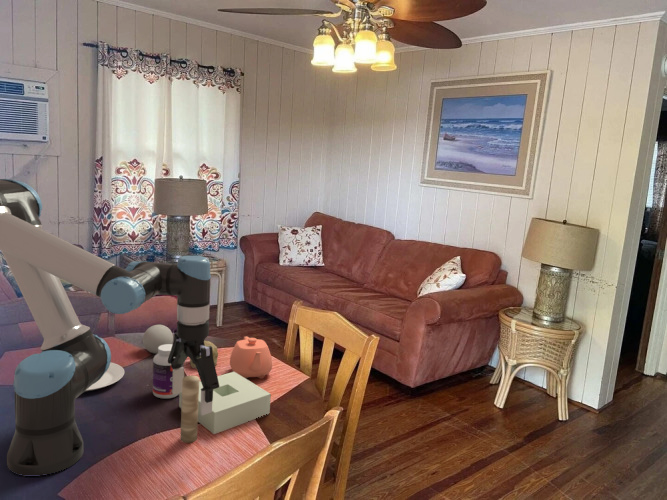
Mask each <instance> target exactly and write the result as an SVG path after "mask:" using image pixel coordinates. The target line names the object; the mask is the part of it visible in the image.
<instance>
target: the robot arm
mask: <svg viewBox="0 0 667 500" xmlns="http://www.w3.org/2000/svg"><path fill="white" fill-rule="evenodd" d="M42 211H43V203H42V200H41V197H40V196H39V193H37V191H36V190H35V189H34V188H33V187H32V186H30V185H29V184H27V183H25V182H23V181H21V180H18V179H17V180H16V179H9V178H0V251H1V253H2V255H3V257H4V259H5V261H6V263H7V266H8V268H9V270H10V272H11V274H12V276H13V278H14V280H15V281H16V284H17V287H18V288H19V290H20V292H21V294H22V297H23V298H24V301H25V303H26V304H27V307H28V309H29V311H30V314H31V315H32V318H33V319H34V322H35V323H36V325H37V328H38V330H39V331H40V334H41V336H42V339H43V342H42V344H41V347H40V351H41V352H40V353H33V354H31V355H29V356H27V357H25V358H24V359H22V360H21V361H20V362H19V363H18V364H17V366H16V367H15V370H14V378H13V383H12V384H13V385H12V386H13V391H14V392H13V393H14V417H15V418H14V419H15V421H14V422H15V431H14V435H13V436H12V440H11V442H10V445H9V448H8V450H7V454H6V466H8V467H7V469H8V468H9V469H10V470H11V471H13V472H15V473H17V474H22V475H43V474H50V473H54V472H57V473H59V472H58V471H60V472H62V471H64V469H65V470H67V469H68V468H70V467H72V466H74V465H75V464H76V463H77V462H79V460H81V458H82V457H83V455H84V440H83V437H82V434H81V432H80V430H79V427H78V425H77V422H76V418H75V417H76V403H75V402H76V399H77V398H79V396H81V395H83V393H85V392H86V391H85V390H87V389H88V388H89V387H90V386H91V385H92V384H94V383H96V382H97V381H98V380H100V379H101V377H102V376H103V375H104V374H105V372H106V371H107V370H108V368H109V365H110V362H112V361H111V360H112V352H111V348H110V346H109V344H108V343H107V342H106V340H105V339H103V337H99V336H98V334H93V331H92V330H91V328H90V326H87V325H85V324H82V323H81V322H80V319H79V318H78V315H77V314H76V312H75V311H76V310H74V307H73V304H72V303H71V300H70V299H69V296H68V294H67V291H66V289H65V288H64V285H63V284H62V281H61V280H63V281H65V282H67V283H69V284H71V285H73V286H76V287H78V288H80V289H82V290H84V291H85V292H88V293H90V294H92V295H95V296H96V297H98V298H100V300H101V301H100V302H101V303H102V305H103V306H104V307H105V308H106V310H107V311H109V312H110V313H113V314H116V315H124V314H128V313H130V312H131V311H135V310H137V309H138V308H140V307H141V306H142V305H143V304H144V303H146V302H147V301H149V300H151V299H152V298H153V297H155V296H156V295H161V296H162V295H163V296H176V299H177V300H176V320H178V321H177V322H176V332H175V333H174V334H173V342H172V344H173V345H172V348H171V351H170V354H169V358H168V363H169V364H170V363H171V367H172V368H173V388H172V393H173V394H177V393H180V392H182V379H183V378H184V377H185V368H184V366H185V362H186V361H187V359H189V360H190V359H191V360H192V362H193V364H195V365H196V368H197V369H196V368H195V369H196V370H197V373H198V377H199V381H201V383H202V386H203V388H201V411H200V414H201V415H205V414H208V413H211V412H212V401H213V389H216V388H219V382H218V377H217V376H218V373H217V368H216V366H215V364H214V359H213V350H212V346H208V347H206V346H205V344H204V341H205V340H206V338H208V336H209V335H210V321H209V319H210V309H211V308H210V307H211V305H210V302H211V301H210V298H211V296H210V295H211V294H210V293H211V279H212V274H211V262H210V260H209V258H207V257H205V256H202V255H201V256H200V255H183V256H180V257H179V258H178V259H177V263H165V262H155V261H153V262H152V261H147V260H142V261H136V260H135V261H131V262H129V263H128V264H127V267H126V268H122V267H120V266H118V265H116V264H114V263H112V262H110V261H108V260H106V259H103V258H102V257H99V256H97V255H95V254H94V253H92V252H90V251H88V250H85V249H83V248H81V247H79V246H77V245H75V244H73V243H71V242H70V241H67V240H65V239H62V238H61V237H59V236H56V235H55V234H52V233H50V232H48V231H46V230H45V229H42V228H43V227H44V226H43V224H42V222H41V220H40V218H41V215H42V213H41V212H42ZM174 357H175V358H174ZM200 357H201V358H200ZM197 358H198V359H197ZM180 366H182V367H180ZM206 383H207V384H206ZM66 468H67V469H66ZM9 469H8V470H9ZM10 470H9V471H10ZM61 470H62V471H61ZM11 471H10V472H11ZM54 474H55V473H54ZM50 475H51V474H50Z"/></svg>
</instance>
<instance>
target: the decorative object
mask: <svg viewBox="0 0 667 500" xmlns="http://www.w3.org/2000/svg"><path fill="white" fill-rule="evenodd" d="M204 344H205V346H206V347H208V346H212V350H213V359H214V364H215V367H216V366H217V363H218V357H219V350H218V346H216V344H214V343H213V342H211V341H209V340H204ZM200 358H201V357H200ZM197 359H198V358H197ZM189 363H190V365H189V366H190V367H191V368H192V369H196V370H197V368H196V365H195V364H193V362H192V360H191V359H190V358H189Z"/></svg>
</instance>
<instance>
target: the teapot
mask: <svg viewBox="0 0 667 500" xmlns="http://www.w3.org/2000/svg"><path fill="white" fill-rule="evenodd" d="M272 359H273V358H272V354H271V351H270V349H269V346H268V345H267V342H266V341H265V340H264V339H259V338H258V339H257V338H256V337H249V336H246V335H245V336H243V339H241V340H237V341H236V343H235V344H234V347H233V349H232V351H231V354H230V359H229V365H230V369H231V370H232V371H231V372H235V373H237V374H239V375H240V376H242V377H244V378H245V379H247V380H248V378H258V379H265V377H266V375H269V374H270V372H271V371H272V369H273V360H272Z"/></svg>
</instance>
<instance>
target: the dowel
mask: <svg viewBox="0 0 667 500" xmlns="http://www.w3.org/2000/svg"><path fill="white" fill-rule="evenodd" d="M199 381H200V377H199V376H197V375H186V376H184V378H183V379H182V409H181V408H180V410H181V411H180V415H181V416H180V417H181V418H180V441H181V442H182V443H185V444H192V443H194V442H196V441H197V440H198V439H197V438H198V423H199V422H198V401H199Z"/></svg>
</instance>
